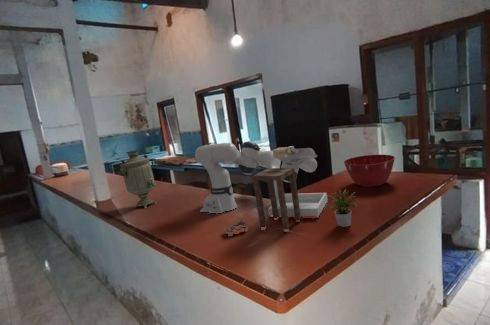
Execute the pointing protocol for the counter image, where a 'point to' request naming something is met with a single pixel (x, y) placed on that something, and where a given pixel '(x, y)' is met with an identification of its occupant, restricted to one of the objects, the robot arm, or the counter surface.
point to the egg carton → (236, 225)
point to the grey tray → (304, 204)
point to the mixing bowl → (370, 169)
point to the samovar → (138, 177)
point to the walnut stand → (278, 175)
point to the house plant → (343, 208)
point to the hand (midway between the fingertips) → (287, 149)
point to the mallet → (282, 152)
